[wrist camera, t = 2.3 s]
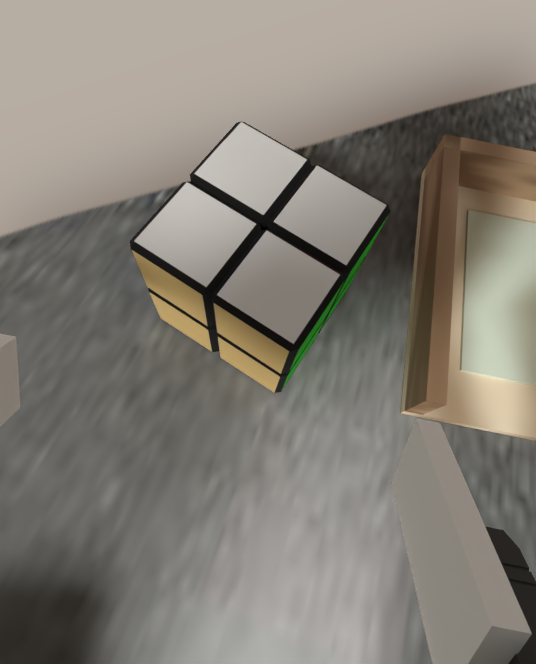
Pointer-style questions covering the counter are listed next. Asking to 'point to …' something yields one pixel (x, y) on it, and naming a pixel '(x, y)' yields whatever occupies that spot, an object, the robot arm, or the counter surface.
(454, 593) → the robot arm
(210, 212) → the puzzle cube
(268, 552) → the counter surface
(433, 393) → the walled corner board
